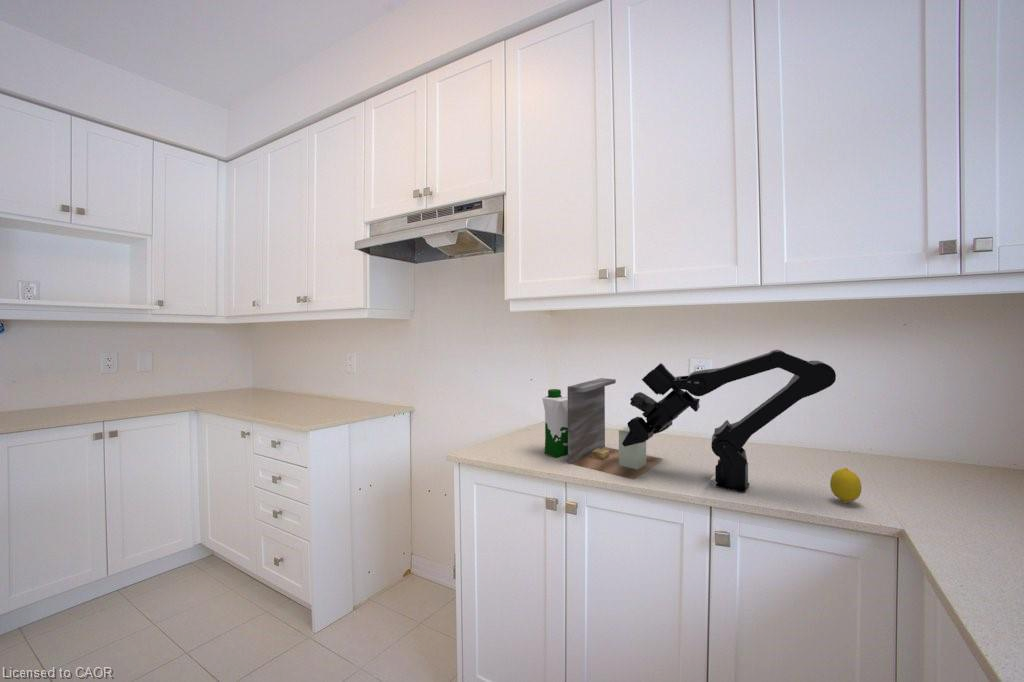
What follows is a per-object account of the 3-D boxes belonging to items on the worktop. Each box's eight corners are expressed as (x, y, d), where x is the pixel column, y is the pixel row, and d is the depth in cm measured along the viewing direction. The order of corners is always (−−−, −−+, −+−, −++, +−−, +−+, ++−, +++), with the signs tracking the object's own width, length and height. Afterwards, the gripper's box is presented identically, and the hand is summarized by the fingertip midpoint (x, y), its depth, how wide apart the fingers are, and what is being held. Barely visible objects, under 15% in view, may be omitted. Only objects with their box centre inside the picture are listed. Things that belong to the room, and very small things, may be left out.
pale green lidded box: (646, 463, 120) (646, 429, 119) (637, 469, 116) (637, 433, 115) (627, 459, 124) (627, 426, 123) (618, 465, 119) (618, 430, 119)
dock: (663, 462, 124) (663, 383, 123) (634, 483, 109) (634, 393, 108) (601, 449, 137) (601, 378, 136) (568, 466, 122) (567, 386, 120)
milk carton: (558, 447, 139) (558, 387, 138) (580, 454, 132) (580, 390, 131) (540, 454, 133) (539, 391, 132) (561, 461, 127) (561, 394, 125)
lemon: (824, 500, 97) (825, 466, 97) (838, 495, 99) (839, 462, 99) (851, 510, 92) (852, 474, 92) (866, 505, 94) (867, 470, 94)
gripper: (661, 379, 122) (625, 412, 130) (634, 388, 108) (596, 424, 116) (689, 410, 118) (650, 442, 125) (665, 424, 103) (623, 459, 111)
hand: (630, 441), depth 120 cm, fingers open, 9 cm apart
